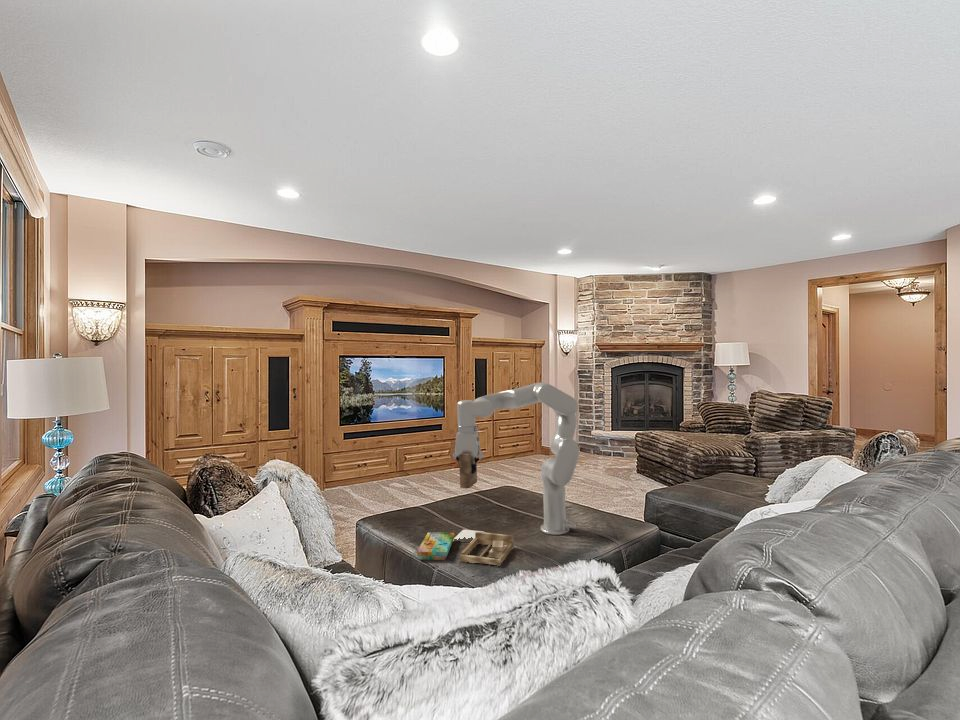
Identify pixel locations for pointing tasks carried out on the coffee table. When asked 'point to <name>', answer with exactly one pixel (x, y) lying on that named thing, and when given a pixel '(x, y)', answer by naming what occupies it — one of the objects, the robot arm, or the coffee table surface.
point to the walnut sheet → (466, 471)
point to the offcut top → (497, 546)
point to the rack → (487, 539)
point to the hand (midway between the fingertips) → (468, 472)
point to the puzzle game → (435, 546)
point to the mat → (466, 534)
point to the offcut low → (496, 554)
